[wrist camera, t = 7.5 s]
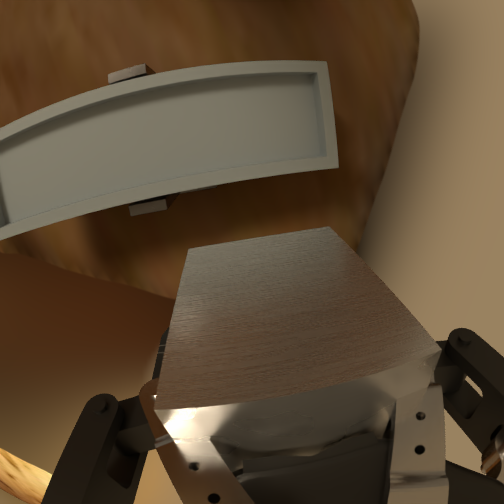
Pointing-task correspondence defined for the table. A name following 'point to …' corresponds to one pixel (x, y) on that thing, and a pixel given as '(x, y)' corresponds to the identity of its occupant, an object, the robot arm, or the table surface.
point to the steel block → (286, 348)
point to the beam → (165, 138)
